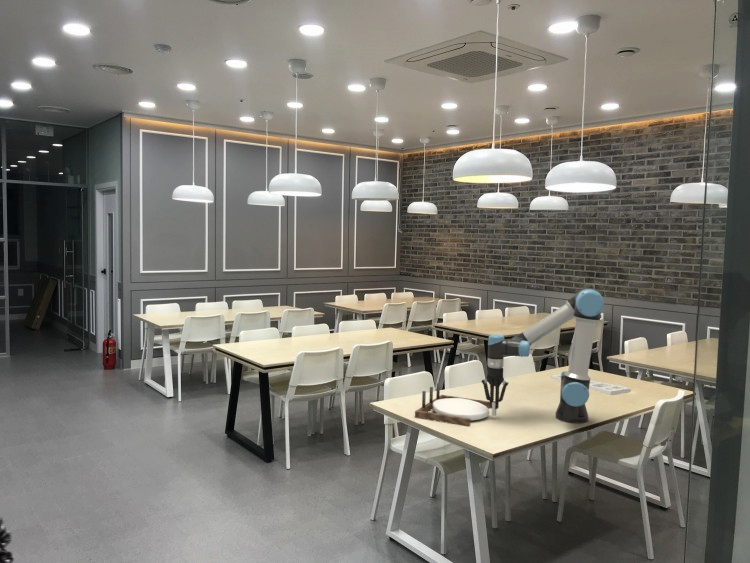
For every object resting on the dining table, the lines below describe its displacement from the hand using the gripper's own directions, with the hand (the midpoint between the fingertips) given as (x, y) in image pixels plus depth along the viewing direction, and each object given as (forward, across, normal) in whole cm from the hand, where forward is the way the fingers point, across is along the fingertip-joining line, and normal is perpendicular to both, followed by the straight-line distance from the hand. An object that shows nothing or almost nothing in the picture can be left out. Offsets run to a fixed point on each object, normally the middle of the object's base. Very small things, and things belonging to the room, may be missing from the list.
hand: (494, 415), depth 281 cm
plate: (+2, -16, -2) cm, 17 cm away
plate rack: (+1, -20, 0) cm, 20 cm away
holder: (+3, +32, +101) cm, 106 cm away
